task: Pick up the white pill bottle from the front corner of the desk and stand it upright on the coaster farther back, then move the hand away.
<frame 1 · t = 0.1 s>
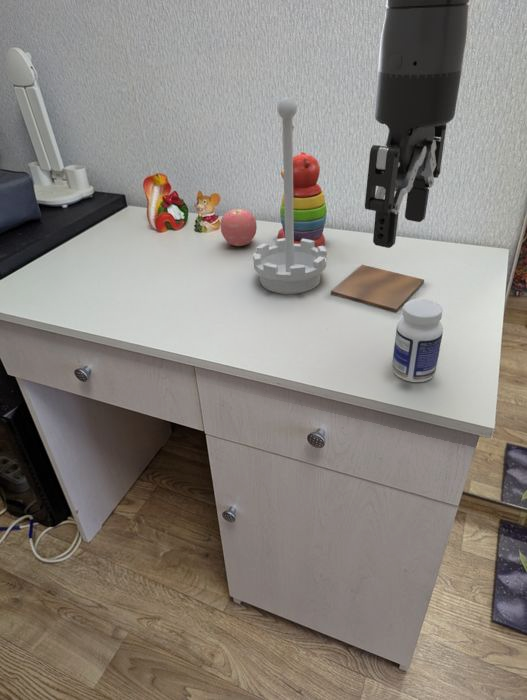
hand: (399, 232, 55), 20 cm above the table, tool pointing down, fingers open, 8 cm apart
pill bottle: (412, 371, 67), on the table
coaster: (377, 288, 86), on the table
apple: (239, 245, 105), on the table
stacking bear: (301, 244, 104), on the table
flag stand: (290, 280, 90), on the table
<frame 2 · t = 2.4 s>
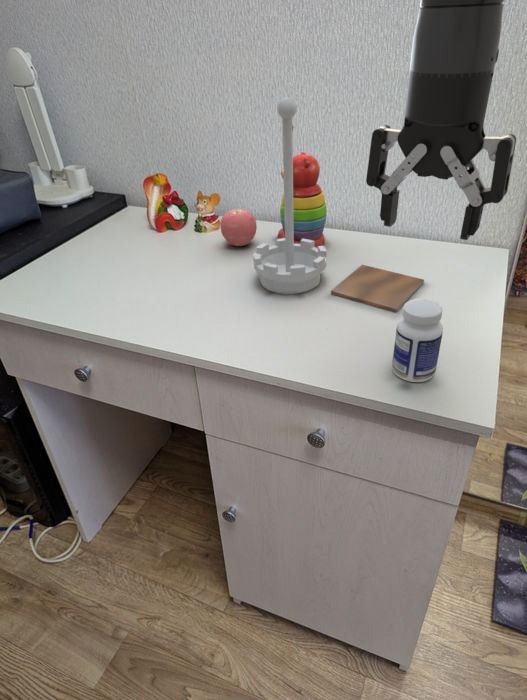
hand: (426, 230, 55), 20 cm above the table, tool pointing down, fingers open, 8 cm apart
nothing on the table moved.
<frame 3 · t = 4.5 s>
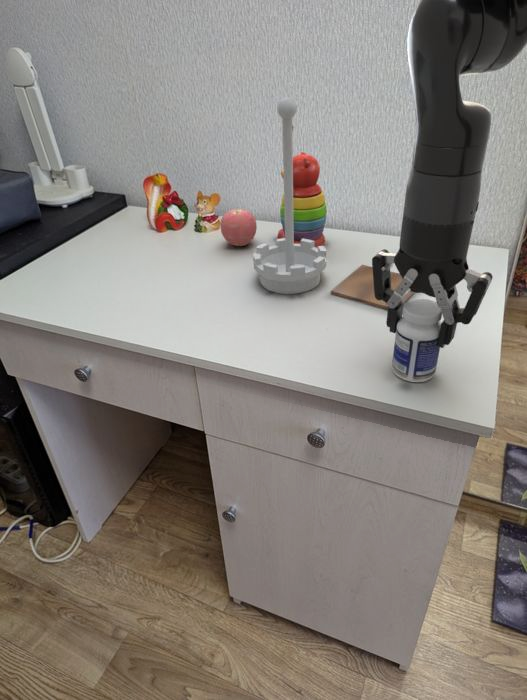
hand: (418, 336, 64), 6 cm above the table, tool pointing down, fingers closed on pill bottle, 5 cm apart
pill bottle: (412, 371, 67), on the table, touching gripper
everything else where it was.
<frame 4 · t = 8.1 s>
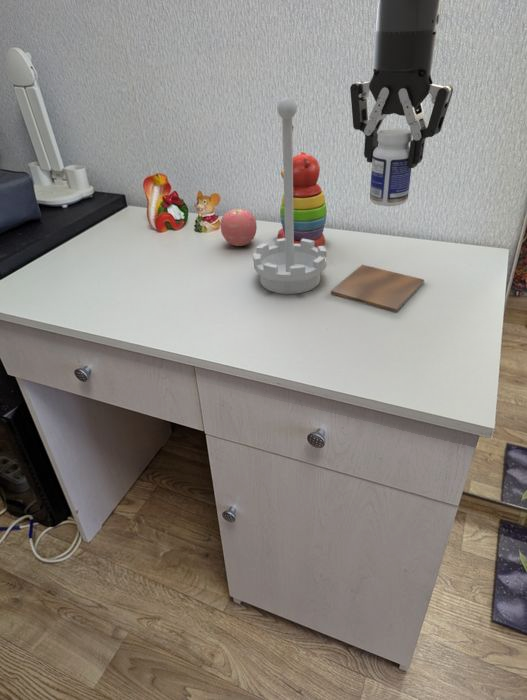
hand: (391, 163, 72), 22 cm above the table, tool pointing down, fingers closed on pill bottle, 5 cm apart
pill bottle: (387, 202, 75), point 16 cm above the table, touching gripper
everything else where it was.
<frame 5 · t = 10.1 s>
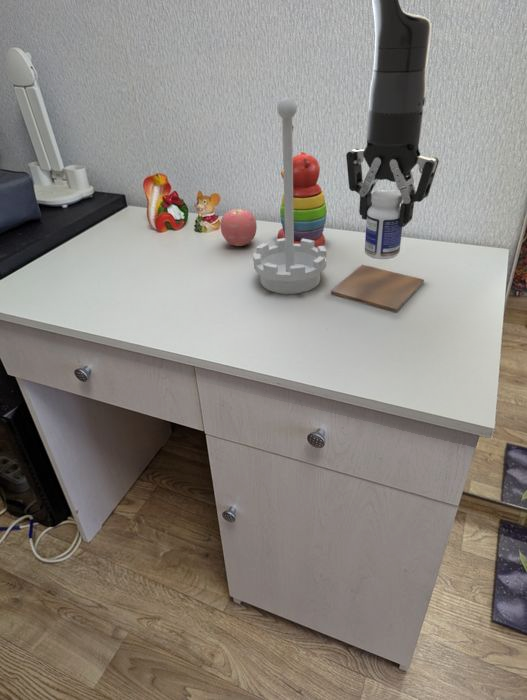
hand: (384, 221, 79), 12 cm above the table, tool pointing down, fingers closed on pill bottle, 5 cm apart
pill bottle: (381, 254, 82), point 6 cm above the table, touching gripper
everything else where it was.
when the fingers open (6 cm above the table, at t = 12.0 s): pill bottle stays where it is, resting on coaster.
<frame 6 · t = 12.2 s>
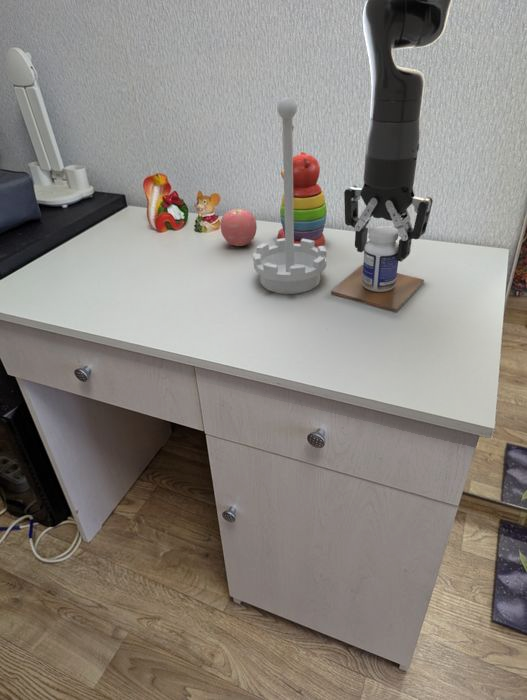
hand: (381, 254, 82), 6 cm above the table, tool pointing down, fingers open, 6 cm apart
pill bottle: (378, 286, 86), resting on coaster
everything else where it was.
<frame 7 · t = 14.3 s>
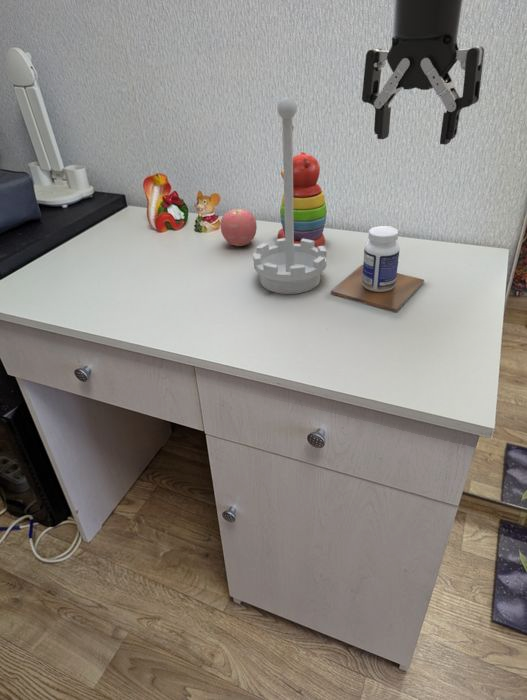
hand: (413, 140, 65), 26 cm above the table, tool pointing down, fingers open, 8 cm apart
nothing on the table moved.
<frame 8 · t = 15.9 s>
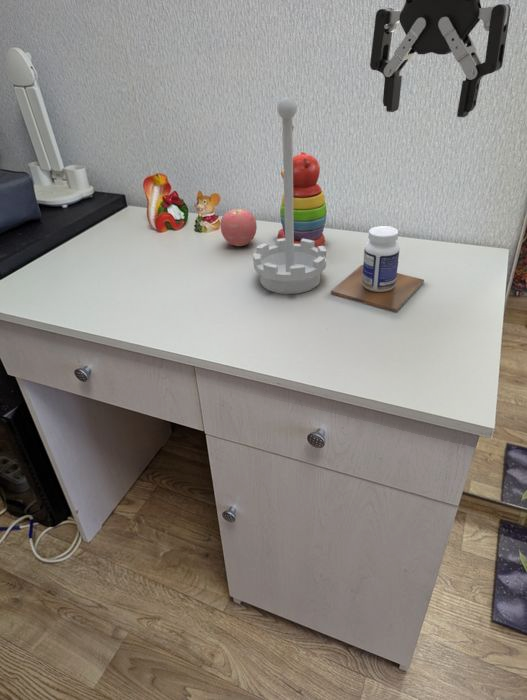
hand: (426, 113, 58), 30 cm above the table, tool pointing down, fingers open, 8 cm apart
nothing on the table moved.
at the end: pill bottle inside the target area on the coaster (0.1 cm from its centre), point 0.4 cm above the coaster's base; pill bottle tilted 0°; the gripper is holding nothing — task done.
